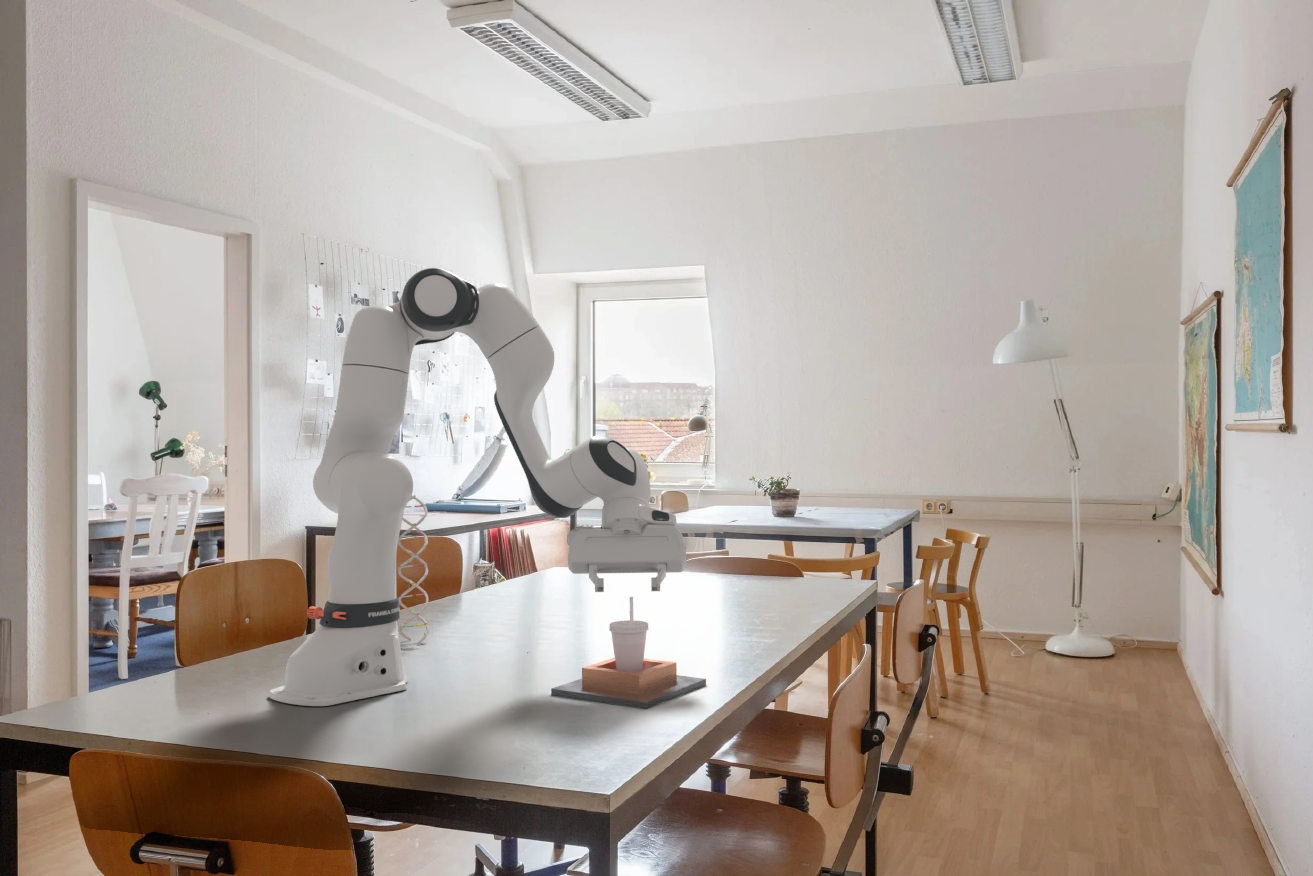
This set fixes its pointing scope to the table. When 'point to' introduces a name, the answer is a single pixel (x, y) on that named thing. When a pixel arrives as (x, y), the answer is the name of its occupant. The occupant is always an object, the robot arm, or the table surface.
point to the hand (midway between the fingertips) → (627, 589)
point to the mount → (629, 684)
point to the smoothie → (629, 642)
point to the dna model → (415, 555)
